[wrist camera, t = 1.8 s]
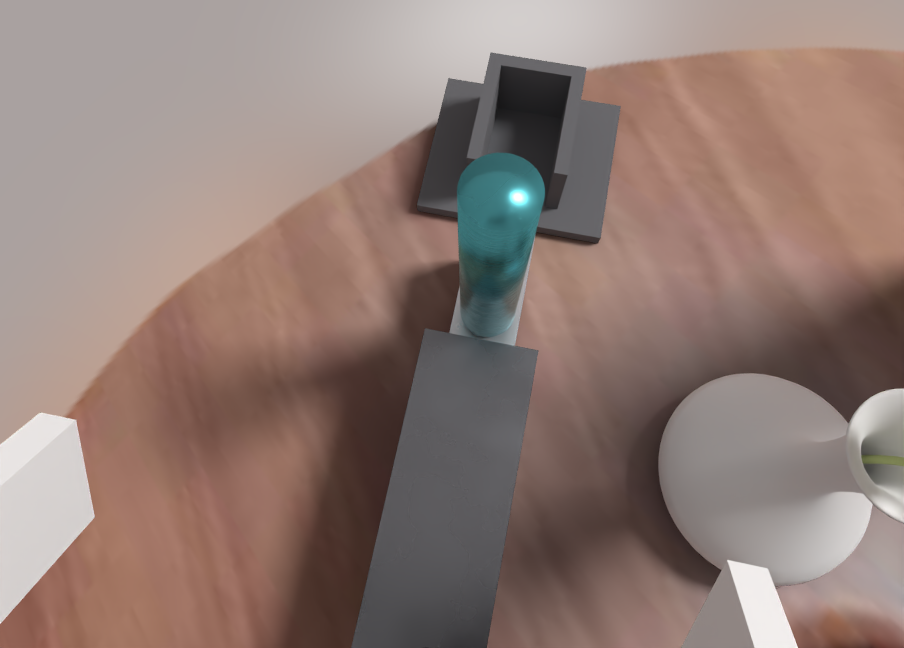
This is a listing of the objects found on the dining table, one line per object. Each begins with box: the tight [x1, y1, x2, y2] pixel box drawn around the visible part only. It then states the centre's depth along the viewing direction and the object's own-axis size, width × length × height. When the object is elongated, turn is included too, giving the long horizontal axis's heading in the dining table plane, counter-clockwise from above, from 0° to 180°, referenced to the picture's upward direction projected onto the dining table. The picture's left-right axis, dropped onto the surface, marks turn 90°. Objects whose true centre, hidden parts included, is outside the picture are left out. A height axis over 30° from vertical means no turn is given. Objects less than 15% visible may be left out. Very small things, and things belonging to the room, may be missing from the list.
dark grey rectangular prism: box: [351, 328, 538, 648], centre depth 32 cm, size 6×17×6 cm, turn 168°
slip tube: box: [449, 153, 545, 346], centre depth 28 cm, size 4×20×17 cm, turn 168°
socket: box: [417, 53, 621, 243], centre depth 39 cm, size 12×10×5 cm
